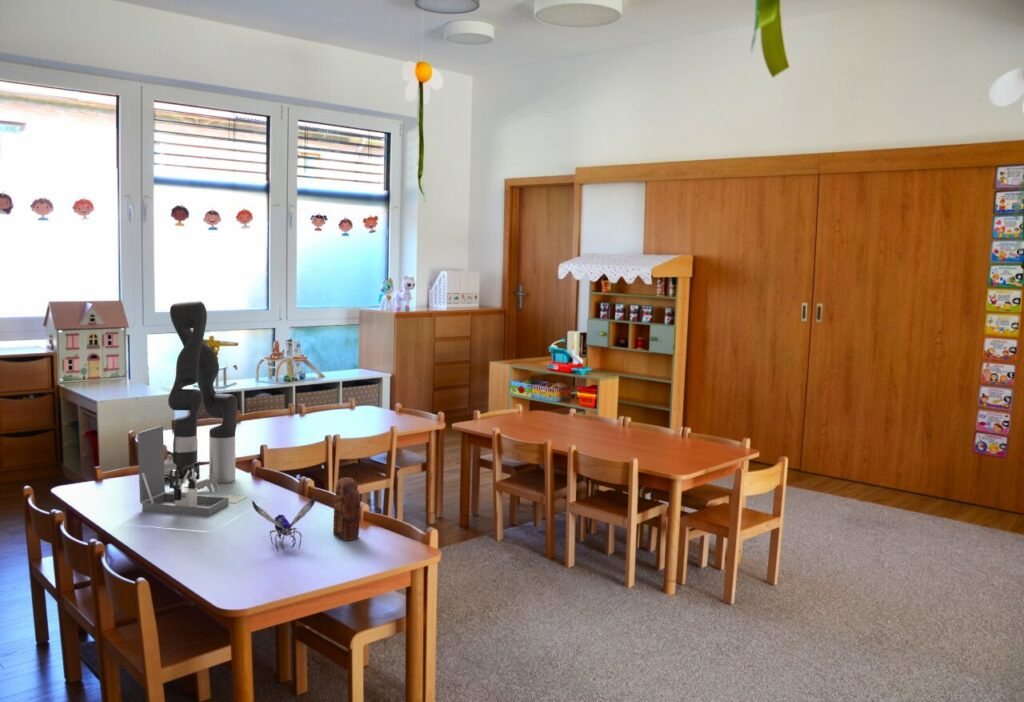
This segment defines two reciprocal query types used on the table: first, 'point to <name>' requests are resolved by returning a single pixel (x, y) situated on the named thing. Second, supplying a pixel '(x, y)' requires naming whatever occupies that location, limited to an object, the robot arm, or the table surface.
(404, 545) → the table surface
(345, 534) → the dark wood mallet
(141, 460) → the equipment case
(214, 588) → the table surface
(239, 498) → the mat
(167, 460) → the grey clay mound
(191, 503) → the block
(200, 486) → the caliper
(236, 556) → the table surface
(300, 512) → the mechanical insect
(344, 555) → the table surface
